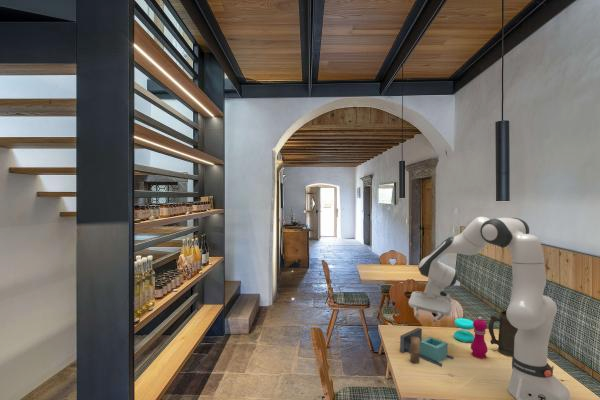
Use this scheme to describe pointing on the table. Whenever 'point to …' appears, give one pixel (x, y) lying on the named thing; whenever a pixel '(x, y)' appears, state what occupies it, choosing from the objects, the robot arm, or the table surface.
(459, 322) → the donuts
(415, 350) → the dowel
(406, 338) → the track
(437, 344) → the socket block
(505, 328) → the beer stein
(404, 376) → the table surface
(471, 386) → the table surface
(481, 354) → the pepper mill
